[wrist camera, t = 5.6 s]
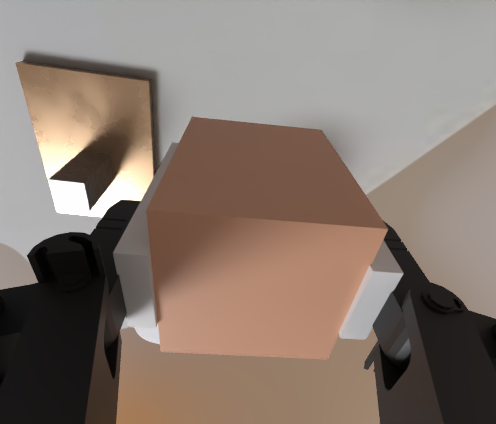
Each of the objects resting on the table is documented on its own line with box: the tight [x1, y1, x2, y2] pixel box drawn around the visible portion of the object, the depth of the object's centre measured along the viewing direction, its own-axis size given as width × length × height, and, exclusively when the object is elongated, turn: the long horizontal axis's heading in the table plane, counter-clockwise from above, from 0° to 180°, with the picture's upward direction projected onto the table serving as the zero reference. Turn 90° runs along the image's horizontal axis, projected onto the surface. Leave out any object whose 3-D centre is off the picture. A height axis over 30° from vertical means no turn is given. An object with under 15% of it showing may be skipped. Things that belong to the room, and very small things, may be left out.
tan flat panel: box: [16, 61, 156, 217], centre depth 25 cm, size 14×10×6 cm
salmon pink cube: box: [146, 117, 388, 359], centre depth 10 cm, size 5×5×7 cm
